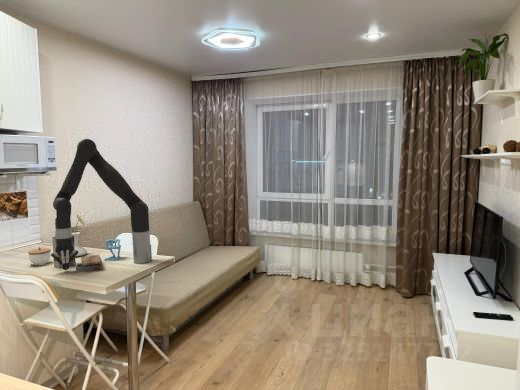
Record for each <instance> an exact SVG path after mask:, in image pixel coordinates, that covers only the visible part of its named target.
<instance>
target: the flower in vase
mask: <svg viewBox="0 0 520 390" xmlns="http://www.w3.org/2000/svg"><path fill="white" fill-rule="evenodd" d="M76 217H77V219H78V220H77V222H76V224H75V227H74V229H73V230H72V235H73V236H74V243H75V250H78V254H77V255H76V257H82V256H84V255H86V254H88V250H87V249H86V248H85V247H83V246H81V244H79V236H80V234H81V231H80V232H77V230H78V231H79V230H80V227H79V226H78V223H80V224H82V225H83V226H85V224H86V223H85V222H84V220H83V219H82V217H81V216H80V215H79V214H78V213H76ZM73 231H74V232H73Z"/></svg>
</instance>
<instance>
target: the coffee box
mask: <svg viewBox="0 0 520 390" xmlns="http://www.w3.org/2000/svg"><path fill="white" fill-rule="evenodd" d="M51 239H52V253H53V252H55V249H56V237H55V236H53V237H52V238H51ZM72 240H73V247H74V249H75V243H74V236H73V235H72ZM73 252H74V251H73ZM73 252H72V253H71V255H70V256H69V259H70V258H71V257H72V255H73ZM56 254H57V253H56ZM57 257H58V258H59V259H60V260H62V257H61V256H59V255H58V254H57ZM64 258H65V262H66V256H64ZM52 259H53V267H56V268H57V269H61V268H63V264H62V263H59V262H57V261H56V260H55V259H54V258H53V257H52ZM76 262H77V261H76V257H75V258H74V259H73V261H71V262H69V267H70V266H76V264H77V263H76Z"/></svg>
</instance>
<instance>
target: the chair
mask: <svg viewBox="0 0 520 390" xmlns="http://www.w3.org/2000/svg"><path fill="white" fill-rule="evenodd" d="M120 242H121V239H118V238H116V239H113V238H107V239H106V240H105V244H106V247H105V250H109V251H110V253H111V254H112V255H111V256H109V257H106V258H104V259H103V260H104V262H105V261H106V262H107V261H119V259H120V256H121V255H120V253H121V247H122V245H121V244H120ZM113 244H114V245H113ZM113 250H118V251H117V256H116V254H115V253H114V251H113Z"/></svg>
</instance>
